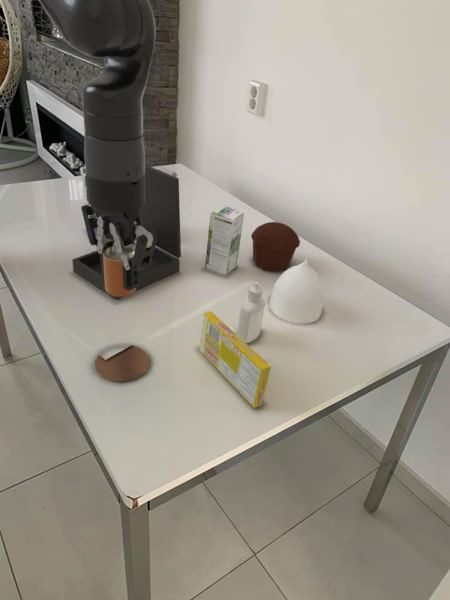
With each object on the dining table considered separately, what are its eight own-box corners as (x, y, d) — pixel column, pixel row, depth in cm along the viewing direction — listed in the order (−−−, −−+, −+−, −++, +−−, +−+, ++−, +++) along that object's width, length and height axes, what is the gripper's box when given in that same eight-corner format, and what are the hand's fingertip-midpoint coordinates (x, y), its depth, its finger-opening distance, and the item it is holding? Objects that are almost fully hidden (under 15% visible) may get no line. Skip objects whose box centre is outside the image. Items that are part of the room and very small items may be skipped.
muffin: (240, 265, 108) (245, 227, 103) (257, 247, 117) (263, 211, 111) (286, 280, 105) (294, 241, 99) (301, 260, 113) (309, 224, 108)
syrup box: (215, 260, 109) (220, 204, 101) (237, 267, 107) (244, 210, 99) (204, 270, 105) (209, 212, 97) (227, 278, 103) (233, 219, 95)
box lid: (175, 179, 88) (193, 172, 91) (127, 159, 96) (145, 153, 99) (178, 258, 100) (193, 250, 103) (135, 235, 107) (150, 227, 110)
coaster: (118, 390, 71) (118, 389, 71) (84, 362, 76) (83, 360, 76) (160, 364, 77) (160, 362, 77) (126, 339, 82) (126, 337, 82)
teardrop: (321, 328, 91) (335, 277, 84) (266, 318, 92) (276, 266, 85) (321, 298, 100) (334, 250, 93) (272, 289, 101) (281, 241, 94)
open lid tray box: (116, 303, 91) (115, 287, 89) (73, 274, 98) (72, 259, 96) (179, 274, 102) (179, 259, 100) (136, 250, 110) (136, 236, 107)
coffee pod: (118, 300, 66) (116, 264, 63) (98, 287, 68) (96, 251, 65) (142, 289, 69) (142, 254, 66) (123, 277, 71) (121, 242, 68)
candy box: (264, 404, 72) (272, 365, 67) (253, 409, 71) (261, 370, 66) (208, 346, 82) (211, 309, 78) (198, 350, 81) (201, 313, 77)
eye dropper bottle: (266, 339, 86) (276, 286, 79) (240, 345, 83) (248, 291, 77) (255, 326, 89) (264, 274, 82) (230, 331, 87) (237, 278, 80)
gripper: (58, 159, 59) (70, 270, 69) (128, 192, 52) (131, 311, 62) (105, 150, 64) (110, 255, 74) (175, 179, 57) (171, 291, 67)
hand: (120, 280), depth 68 cm, fingers closed on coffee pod, 4 cm apart
